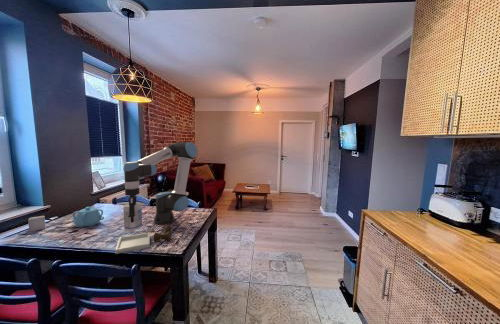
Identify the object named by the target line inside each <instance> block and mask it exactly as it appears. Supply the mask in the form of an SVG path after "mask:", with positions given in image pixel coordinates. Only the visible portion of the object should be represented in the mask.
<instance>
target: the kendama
mask: <svg viewBox="0 0 500 324" xmlns="http://www.w3.org/2000/svg"><path fill="white" fill-rule="evenodd" d="M171 232H172V227H171V226H170V225H169V224H165V226H164V227H163V229H162V233H159V232H154V234H153V242H155V243H156V242H158V241H159V242H161V241H162V240H166V241H167V242H170V241H171V238H172V233H171Z"/></svg>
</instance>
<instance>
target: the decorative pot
mask: <svg viewBox="0 0 500 324" xmlns="http://www.w3.org/2000/svg"><path fill="white" fill-rule="evenodd" d="M76 214H77V215H76ZM103 214H104V211H103V209H101V208H97V207H94V206H93V207H91V206H86V207H85V208H82V209H80V210H76V211H73V212H72V218H73V219H72V223H73V224H75V226H76V227H79V228H83V227H94V226H95V225H97V224H98V223H100V221H103V220H104V219H105V217H104V216H103Z"/></svg>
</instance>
